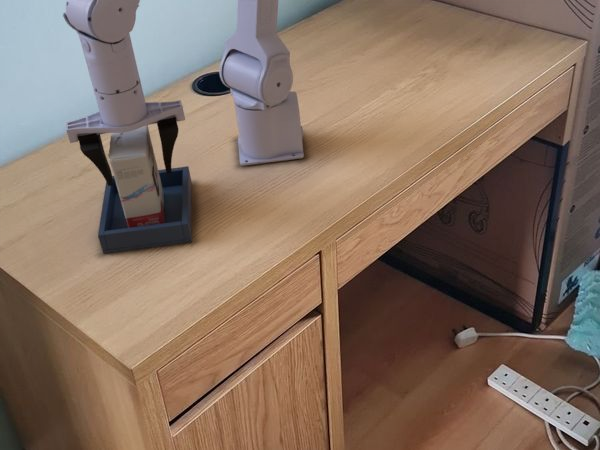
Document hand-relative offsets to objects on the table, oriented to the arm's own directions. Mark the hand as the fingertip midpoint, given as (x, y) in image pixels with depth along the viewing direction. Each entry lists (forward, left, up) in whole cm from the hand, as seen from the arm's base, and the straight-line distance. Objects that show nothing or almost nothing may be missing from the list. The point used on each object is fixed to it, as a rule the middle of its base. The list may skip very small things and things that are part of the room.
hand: (139, 175), depth 104 cm
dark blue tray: (0, 0, -7) cm, 7 cm away
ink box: (0, 0, -6) cm, 7 cm away
